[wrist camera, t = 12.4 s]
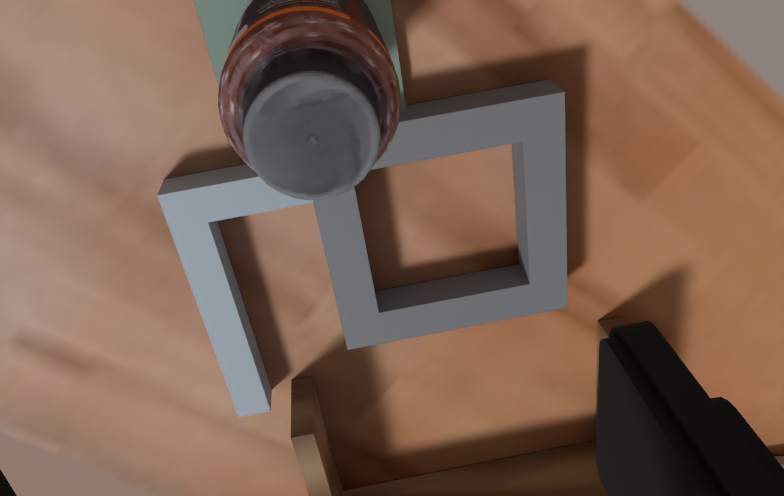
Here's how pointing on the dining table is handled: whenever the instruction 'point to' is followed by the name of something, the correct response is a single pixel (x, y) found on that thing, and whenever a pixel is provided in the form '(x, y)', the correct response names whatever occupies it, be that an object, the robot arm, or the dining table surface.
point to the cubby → (454, 486)
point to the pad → (223, 10)
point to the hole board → (533, 216)
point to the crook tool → (222, 268)
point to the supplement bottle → (309, 94)
